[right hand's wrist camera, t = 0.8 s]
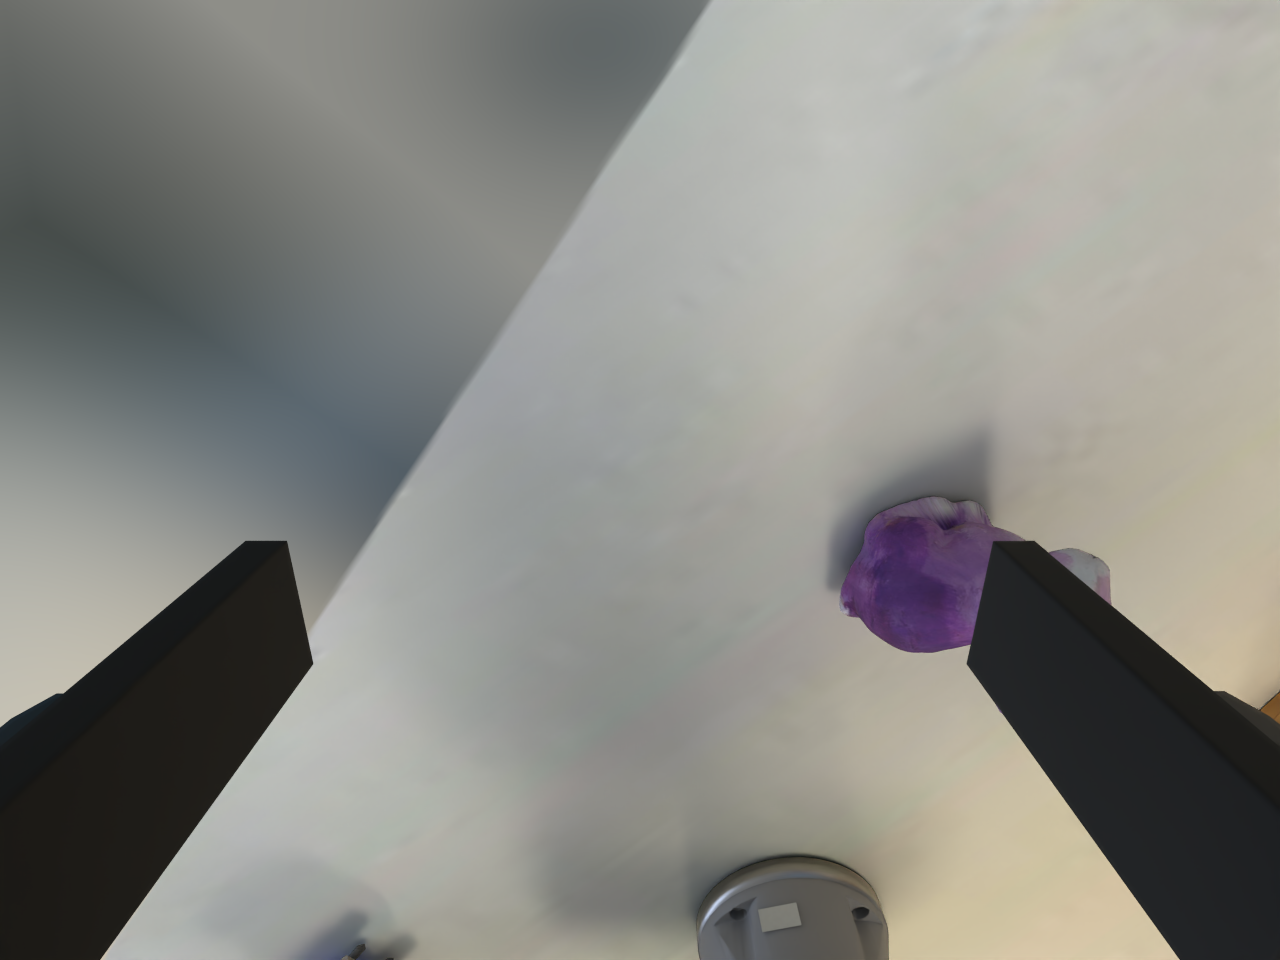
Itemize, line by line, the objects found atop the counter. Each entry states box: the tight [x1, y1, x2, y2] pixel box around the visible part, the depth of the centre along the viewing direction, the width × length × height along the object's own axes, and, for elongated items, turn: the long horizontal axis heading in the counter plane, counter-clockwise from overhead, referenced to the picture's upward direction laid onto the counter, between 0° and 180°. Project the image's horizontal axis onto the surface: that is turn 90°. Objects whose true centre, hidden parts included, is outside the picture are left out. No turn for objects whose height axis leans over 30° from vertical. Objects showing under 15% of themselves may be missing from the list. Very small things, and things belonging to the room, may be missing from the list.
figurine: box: [840, 496, 1112, 713], centre depth 36 cm, size 9×10×15 cm
